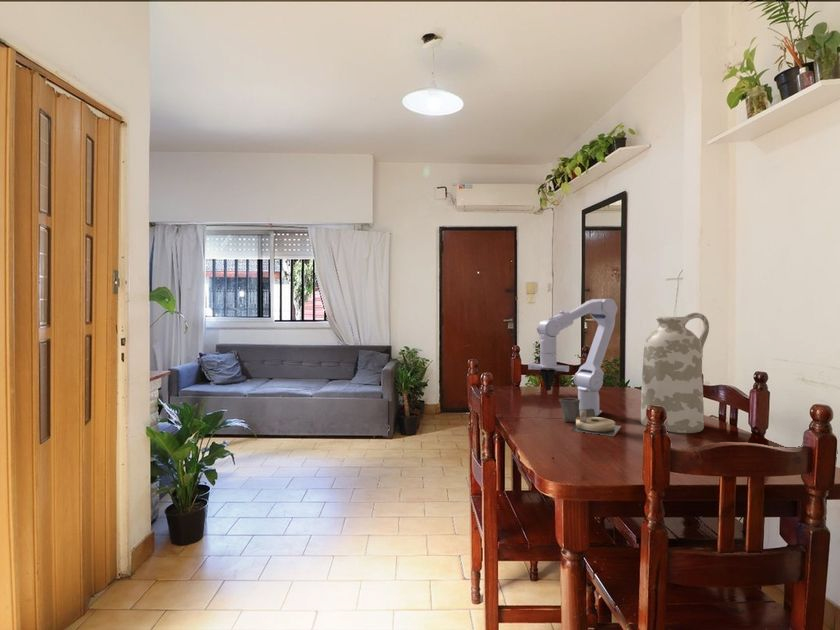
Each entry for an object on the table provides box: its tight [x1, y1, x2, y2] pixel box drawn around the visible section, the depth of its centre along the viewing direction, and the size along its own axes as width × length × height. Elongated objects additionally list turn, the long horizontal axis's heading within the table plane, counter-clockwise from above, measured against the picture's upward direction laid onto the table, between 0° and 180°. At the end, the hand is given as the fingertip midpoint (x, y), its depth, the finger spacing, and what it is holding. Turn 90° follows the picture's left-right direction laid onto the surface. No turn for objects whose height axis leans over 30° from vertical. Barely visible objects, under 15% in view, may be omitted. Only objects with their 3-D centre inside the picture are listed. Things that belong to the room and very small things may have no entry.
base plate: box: [570, 424, 622, 437], centre depth 154 cm, size 14×13×1 cm
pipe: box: [558, 397, 596, 423], centre depth 165 cm, size 6×13×8 cm, turn 103°
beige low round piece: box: [575, 410, 616, 432], centre depth 154 cm, size 12×12×6 cm
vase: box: [640, 312, 710, 434], centre depth 156 cm, size 20×19×38 cm
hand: (548, 390), depth 171 cm, fingers closed
